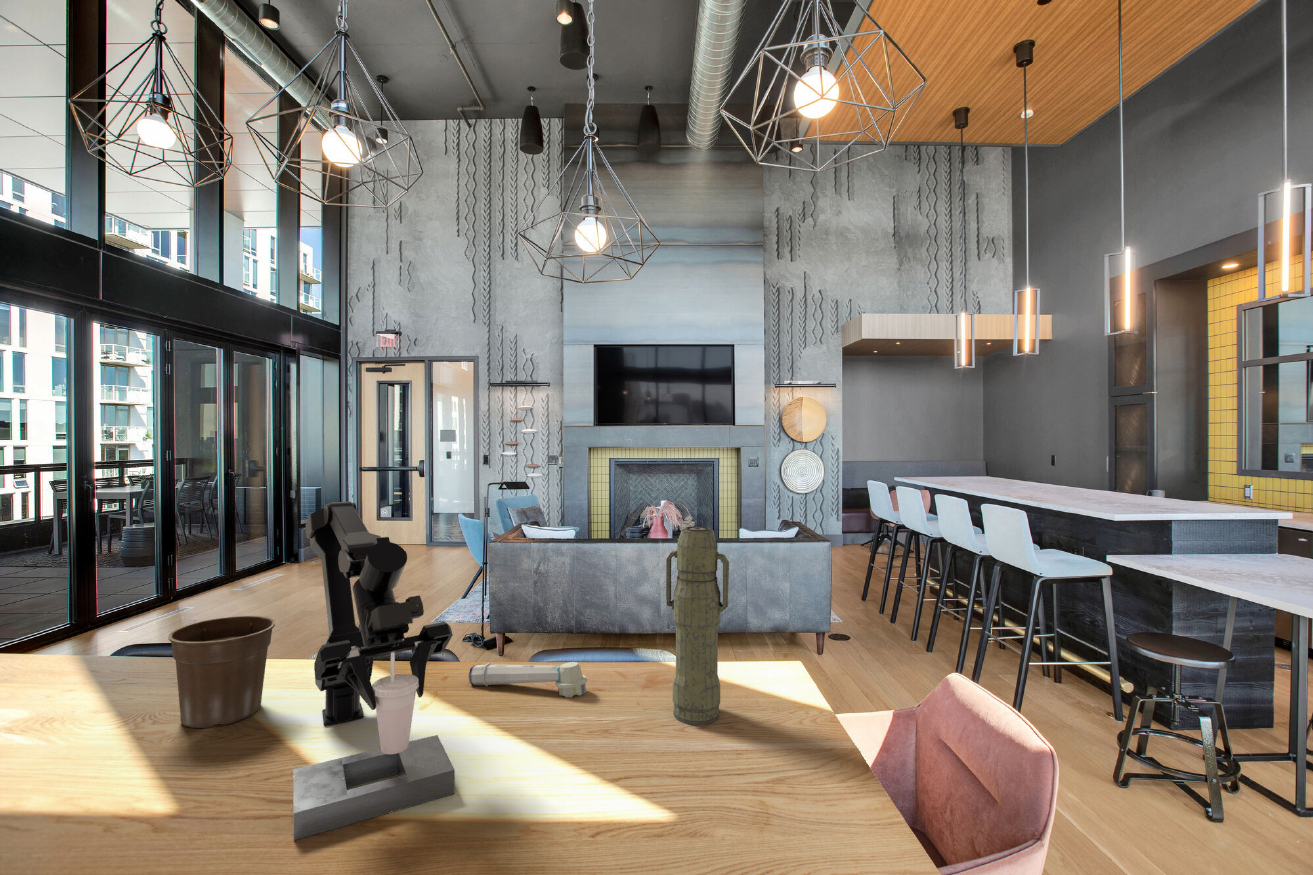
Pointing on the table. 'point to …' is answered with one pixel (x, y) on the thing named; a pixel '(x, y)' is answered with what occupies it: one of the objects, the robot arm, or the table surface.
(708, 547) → the thermos
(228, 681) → the plant pot
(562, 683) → the toothbrush head
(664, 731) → the table surface
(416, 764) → the block
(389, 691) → the smoothie
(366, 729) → the table surface
